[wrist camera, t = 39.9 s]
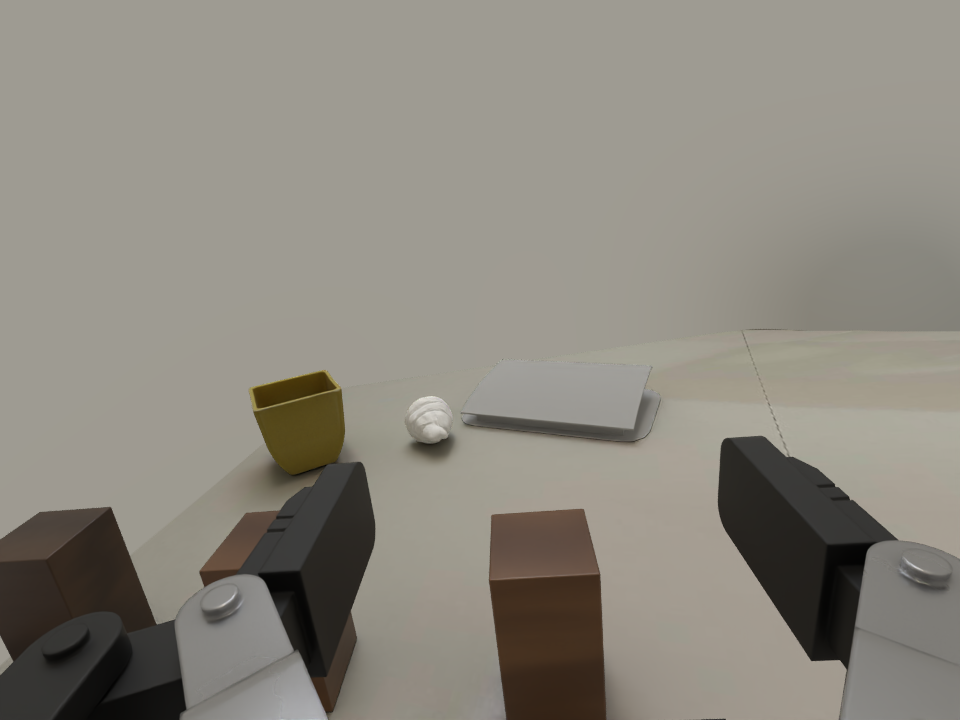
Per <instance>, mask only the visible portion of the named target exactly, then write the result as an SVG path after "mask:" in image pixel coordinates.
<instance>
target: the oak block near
mask: <svg viewBox="0 0 960 720" xmlns="http://www.w3.org/2000/svg"><path fill="white" fill-rule="evenodd" d="M101 611H108V612H113V613H116V614H117V615H119V616H120V618H121V620H122V622H123V625H124V627H125V630H126V632H127V633H130V632H134V631H137V630H141V629H144V628H148V627H151V626H155V625H156V622H155V620H154V617H153V615H152V612H151V609H150V607H149V604H148V602H147V599H146V596H145V594H144V591H143V589H142V586H141V583H140V581H139V578H138V576H137V573H136V571H135V568H134V565H133V563H132V560H131V558H130V555H129V552H128V550H127V547H126V545H125V542H124V540H123V537H122V534H121V532H120V529H119V527H118V524H117V522H116V519H115V516H114V514H113V511H112V509H111V507H103V508H91V509H76V510H62V511H48V512H39V513H38V514H36V515H35V516H34V517H32V518H31V519H30V520H28V521H27V522H25V523H23V524H22V525H21V526H19V527H18V528H17V529H15V530H13V531H12V532H10V533H9V534H8V535H6V536H5V537H4V538H2V539H0V636H1V638H2V640H3V642H4V644H5V646H6V648H7V650H8V652H9V654H10V656H11V658H12V660H13V662H14V661H15V660H16V659H17V658H18V657H19V656H20V655H21V654H22V653H23V652H24V651H25V650H26V649H27V648H28V647H29V646H30V645H31V644H32V643H34V642H35V641H36V640H37V639H39V638H40V637H41V636H43V635H44V634H46V633H47V632H49V631H50V630H52V629H54V628H55V627H57V626H59V625H61V624H63V623H65V622H67V621H69V620H72V619H74V618H76V617H79V616H82V615H85V614H89V613H94V612H101Z"/></svg>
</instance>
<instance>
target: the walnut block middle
mask: <svg viewBox="0 0 960 720" xmlns="http://www.w3.org/2000/svg"><path fill="white" fill-rule="evenodd" d="M278 513H279V511H267V512H252V513H246V514H245V515H244V516H243V518H242V519H241V520H240V521H239V523H238V524H237V525H236V526H235V528H234V529H233V530H232V531H231V533H230V534H229V535H228V536H227V538H226V539H225V540H224V541H223V542H222V544H221V545H220V546H219V547H218V549H217V550H216V551H215V552H214V554H213V555H212V556H211V557H210V559H209V560H208V561H207V562H206V564H205V565H204V566H203V567H202V569H201V570H200V571H199V573H200V575H201V578H202V581H203V584H204V587H206V586H208V585H209V584H211V583H213V582H215V581H218V580H220V579H223V578H226V577H230V576H234V575H236V573H237V572H238V571H239V569H240V568H241V566H242V565H243V563H244V562H245V560H246V559H247V558H248V556H249V555H250V553H251V552H252V550H253V549H254V547H255V546H256V545H257V543H258V542H259V540H260V539H261V537H262V536H263V535H264V533H267V529H268V527H269V526H270V524H271V523H272V522H273V520H276V516H277V514H278ZM356 639H357V636H356V631H355V627H354V623H353V619H352V614H351V611H350V614H349V617H348V620H347V622H346V625H345V628H344V631H343V634H342V636H341V639H340V642H339V645H338V647H337V650H336V653H335V656H334V659H333V661H332V664H331V667H330V670H329V672H328V675H327V677H313V678H311V680H312V683H313V685H314V687H315V690H316V692H317V694H318V697H319V699H320V701H321V704H322V706H323V708H324V711H325V712H331V711H333V709H334V706H335V703H336V700H337V697H338V694H339V691H340V688H341V685H342V682H343V679H344V675H345V672H346V669H347V666H348V663H349V660H350V657H351V654H352V651H353V648H354V645H355V642H356Z"/></svg>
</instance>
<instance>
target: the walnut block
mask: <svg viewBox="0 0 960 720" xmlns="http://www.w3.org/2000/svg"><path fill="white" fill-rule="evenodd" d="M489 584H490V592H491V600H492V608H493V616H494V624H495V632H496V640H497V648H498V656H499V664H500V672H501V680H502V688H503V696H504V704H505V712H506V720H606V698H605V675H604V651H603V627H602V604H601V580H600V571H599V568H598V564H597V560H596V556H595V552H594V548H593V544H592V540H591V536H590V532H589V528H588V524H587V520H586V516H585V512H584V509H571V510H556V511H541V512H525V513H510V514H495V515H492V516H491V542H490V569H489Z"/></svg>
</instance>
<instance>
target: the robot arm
mask: <svg viewBox="0 0 960 720" xmlns="http://www.w3.org/2000/svg"><path fill="white" fill-rule="evenodd" d="M718 509H719V514H720V518H721V522H722V524H723V527H724V529H725V530H726V532H727V534H728V535H729V537H730V538H731V540H732V541H733V543H734V544H735V546H736V547H737V549H738V550H739V552H740V553H741V555H742V556H743V558H744V559H745V561H746V562H747V564H748V566H749V567H750V569H751V570H752V572H753V573H754V575H755V576H756V578H757V579H758V581H759V582H760V584H761V585H762V587H763V588H764V590H765V591H766V593H767V594H768V596H769V597H770V599H771V600H772V602H773V603H774V605H775V606H776V608H777V610H778V611H779V613H780V614H781V616H782V617H783V619H784V620H785V622H786V623H787V625H788V626H789V628H790V629H791V631H792V632H793V634H794V635H795V637H796V638H797V640H798V641H799V643H800V644H801V646H802V647H803V649H804V650H805V652H806V654H807V655H808V657H809V658H810V660H811V661H825V660H840V661H841V662H842V663H843V665H844V666H845V668H846V669H847V672H846V678H845V684H844V690H843V696H842V703H841V709H840V715H839V720H960V559H958V558H957V557H955V556H953V555H951V554H949V553H946V552H944V551H942V550H939V549H936V548H933V547H930V546H927V545H923V544H919V543H915V542H908V541H899V540H898V539H897V538H895V537H894V536H893V535H892V534H891V533H890V532H889V531H887V530H886V529H885V528H884V527H883V526H882V525H881V524H880V523H878V522H877V521H876V520H875V519H874V518H873V517H872V516H870V515H869V514H868V513H867V512H866V511H865V510H864V509H862V508H861V507H860V506H859V505H858V504H857V503H856V502H855V501H853V500H850V499H849V496H848V495H847V494H845V493H844V492H843V491H842V490H841V489H840V488H839V487H835V484H834V483H833V482H832V481H831V480H830V479H828V478H827V477H826V476H825V475H824V474H823V473H822V472H820V471H819V470H818V469H817V468H814V467H812V466H810V465H808V464H806V463H804V462H802V461H800V460H798V459H796V458H794V457H786V456H785V455H783V454H782V453H781V452H780V451H779V450H778V449H777V448H776V447H775V446H774V445H773V444H772V443H771V442H770V441H768V440H767V439H766V438H765V437H763V436H751V437H736V438H726V439H724V440H723V442H722V445H721V454H720V471H719V489H718ZM374 542H375V519H374V514H373V508H372V503H371V498H370V493H369V487H368V482H367V477H366V472H365V468H364V466H363V464H362V463H361V462H352V463H337V464H328V465H327V466H326V467H325V468H324V470H323V471H322V473H321V475H320V476H319V478H318V479H317V481H316V482H315V484H314V485H313V487H304V488H303V489H302V490H301V491H299V492H298V493H297V494H295V495H294V496H293V497H291V498H290V499H289V500H287V501H286V503H285V504H284V506H283V507H282V509H281V510H280V511H279V513H278V514H277V516H276V520H273V522H272V523H271V524H270V526H269V527H268V529H267V533H264V535H263V536H262V537H261V539H260V540H259V542H258V543H257V545H256V546H255V547H254V549H253V550H252V552H251V553H250V555H249V556H248V558H247V559H246V560H245V562H244V563H243V565H242V566H241V568H240V569H239V571H238V572H237V573H236V575H234V576H230V577H226V578H223V579H220V580H218V581H215V582H213V583H211V584H209V585H208V586H206V587H204V588H203V589H201V590H200V591H198V592H197V593H195V594H194V595H193V596H192V597H191V598H189V599H188V600H187V602H186V603H185V604H184V605H183V606H182V607H181V609H180V610H179V612H178V614H177V616H176V619H175V620H172V621H169V622H165V623H162V624H158V625H155V626H151V627H148V628H144V629H141V630H137V631H134V632H130V633H127V632H126V630H125V627H124V625H123V622H122V620H121V618H120V616H119V615H117V614H116V613H113V612H108V611H101V612H94V613H89V614H85V615H82V616H79V617H76V618H74V619H72V620H69V621H67V622H65V623H63V624H61V625H59V626H57V627H55V628H54V629H52V630H50V631H49V632H47V633H46V634H44V635H43V636H41V637H40V638H39V639H37V640H36V641H35V642H34V643H32V644H31V645H30V646H29V647H28V648H27V649H26V650H25V651H24V652H23V653H22V654H21V655H20V656H19V657H18V658H17V659H16V660H15V661H14V662H13V663H12V664H11V665H10V666H9V667H8V668H7V669H6V670H5V671H4V672H3V673H2V674H1V675H0V720H328V717H327V715H326V713H325V711H324V708H323V706H322V704H321V701H320V699H319V697H318V694H317V692H316V690H315V687H314V685H313V683H312V680H311V678H313V677H327V675H328V672H329V670H330V667H331V664H332V661H333V659H334V656H335V653H336V650H337V647H338V645H339V642H340V639H341V636H342V634H343V631H344V628H345V625H346V622H347V620H348V617H349V614H350V611H351V609H352V606H353V603H354V600H355V597H356V595H357V592H358V589H359V586H360V584H361V581H362V578H363V575H364V572H365V570H366V567H367V564H368V561H369V559H370V556H371V553H372V550H373V547H374ZM703 720H726V719H703Z"/></svg>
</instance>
